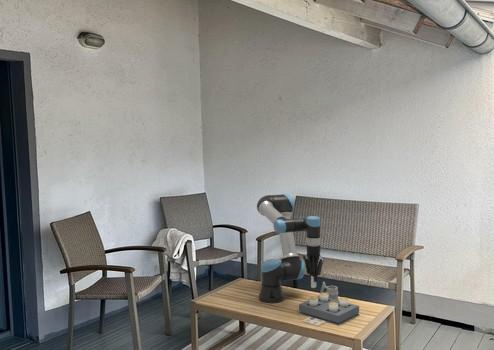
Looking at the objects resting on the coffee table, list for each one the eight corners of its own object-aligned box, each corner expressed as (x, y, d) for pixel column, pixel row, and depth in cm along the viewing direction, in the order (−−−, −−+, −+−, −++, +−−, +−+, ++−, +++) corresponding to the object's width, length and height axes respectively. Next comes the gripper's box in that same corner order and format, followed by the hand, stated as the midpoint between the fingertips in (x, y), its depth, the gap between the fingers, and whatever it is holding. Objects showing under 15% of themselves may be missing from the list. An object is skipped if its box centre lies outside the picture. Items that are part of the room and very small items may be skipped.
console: (298, 313, 267) (298, 304, 267) (319, 304, 281) (319, 295, 281) (338, 325, 249) (338, 315, 249) (359, 314, 263) (359, 305, 263)
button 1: (307, 307, 266) (307, 298, 266) (312, 305, 269) (312, 296, 269) (314, 309, 263) (314, 300, 262) (319, 307, 266) (319, 298, 266)
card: (302, 321, 255) (302, 320, 255) (310, 317, 260) (310, 316, 260) (317, 326, 248) (317, 324, 248) (325, 322, 253) (325, 321, 253)
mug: (334, 307, 276) (334, 286, 275) (317, 302, 284) (316, 282, 283) (341, 303, 282) (341, 283, 281) (324, 299, 290) (324, 279, 289)
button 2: (318, 302, 273) (318, 293, 273) (323, 300, 277) (323, 291, 276) (325, 304, 270) (325, 295, 269) (330, 302, 273) (330, 293, 273)
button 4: (337, 308, 264) (337, 298, 264) (342, 306, 268) (342, 296, 267) (345, 310, 261) (345, 300, 260) (350, 308, 264) (350, 298, 264)
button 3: (327, 313, 257) (327, 303, 257) (332, 310, 260) (332, 301, 260) (334, 315, 254) (334, 305, 253) (339, 312, 257) (339, 303, 257)
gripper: (299, 244, 265) (300, 286, 267) (319, 247, 256) (319, 291, 258) (307, 242, 271) (308, 283, 272) (327, 245, 262) (327, 288, 263)
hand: (313, 287), depth 265 cm, fingers closed
